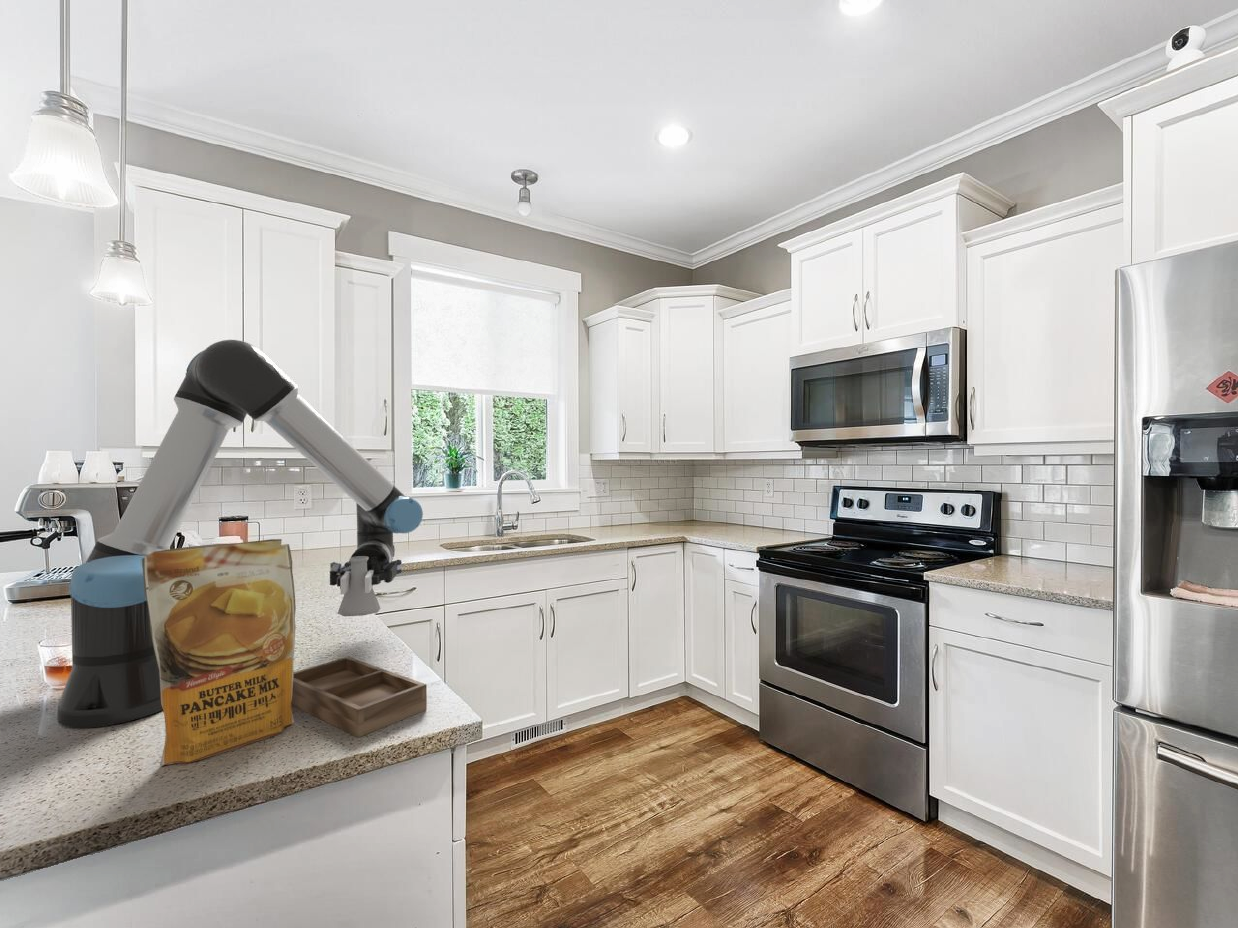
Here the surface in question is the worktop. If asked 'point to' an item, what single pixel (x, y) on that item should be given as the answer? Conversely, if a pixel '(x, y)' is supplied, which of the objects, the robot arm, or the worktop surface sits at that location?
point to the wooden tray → (357, 695)
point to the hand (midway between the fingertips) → (355, 585)
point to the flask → (358, 591)
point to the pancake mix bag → (222, 644)
